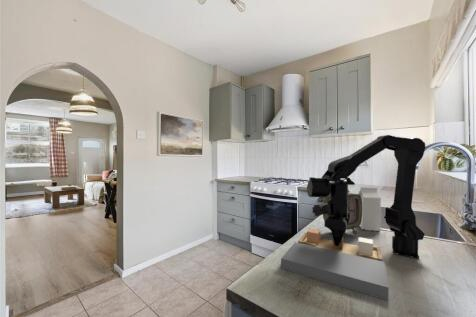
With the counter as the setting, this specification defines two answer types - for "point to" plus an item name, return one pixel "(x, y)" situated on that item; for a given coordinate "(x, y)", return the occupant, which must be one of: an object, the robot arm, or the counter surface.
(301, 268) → the grey flat slab
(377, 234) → the counter surface
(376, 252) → the tray
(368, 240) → the block
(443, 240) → the counter surface
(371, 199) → the milk carton
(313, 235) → the block
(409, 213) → the robot arm
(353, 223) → the tabletop clock
